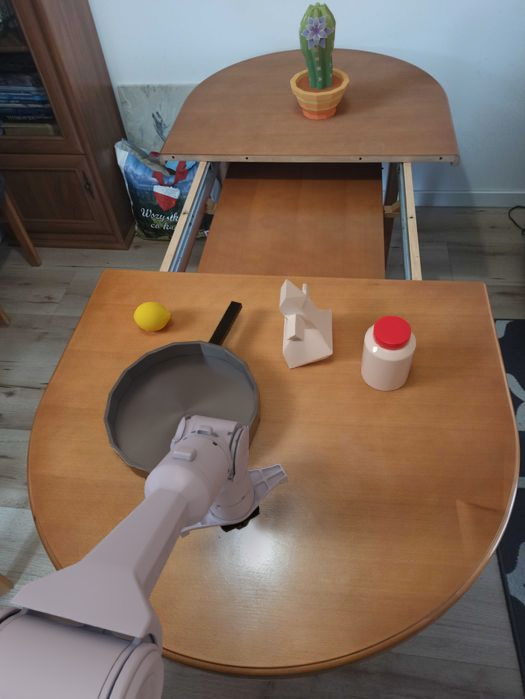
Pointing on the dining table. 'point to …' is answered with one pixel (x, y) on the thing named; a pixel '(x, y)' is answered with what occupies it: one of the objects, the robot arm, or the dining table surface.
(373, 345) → the pill bottle
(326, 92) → the potted cactus
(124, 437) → the pan
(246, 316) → the dining table surface
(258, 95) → the dining table surface
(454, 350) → the dining table surface
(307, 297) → the white angular piece
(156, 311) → the lemon
